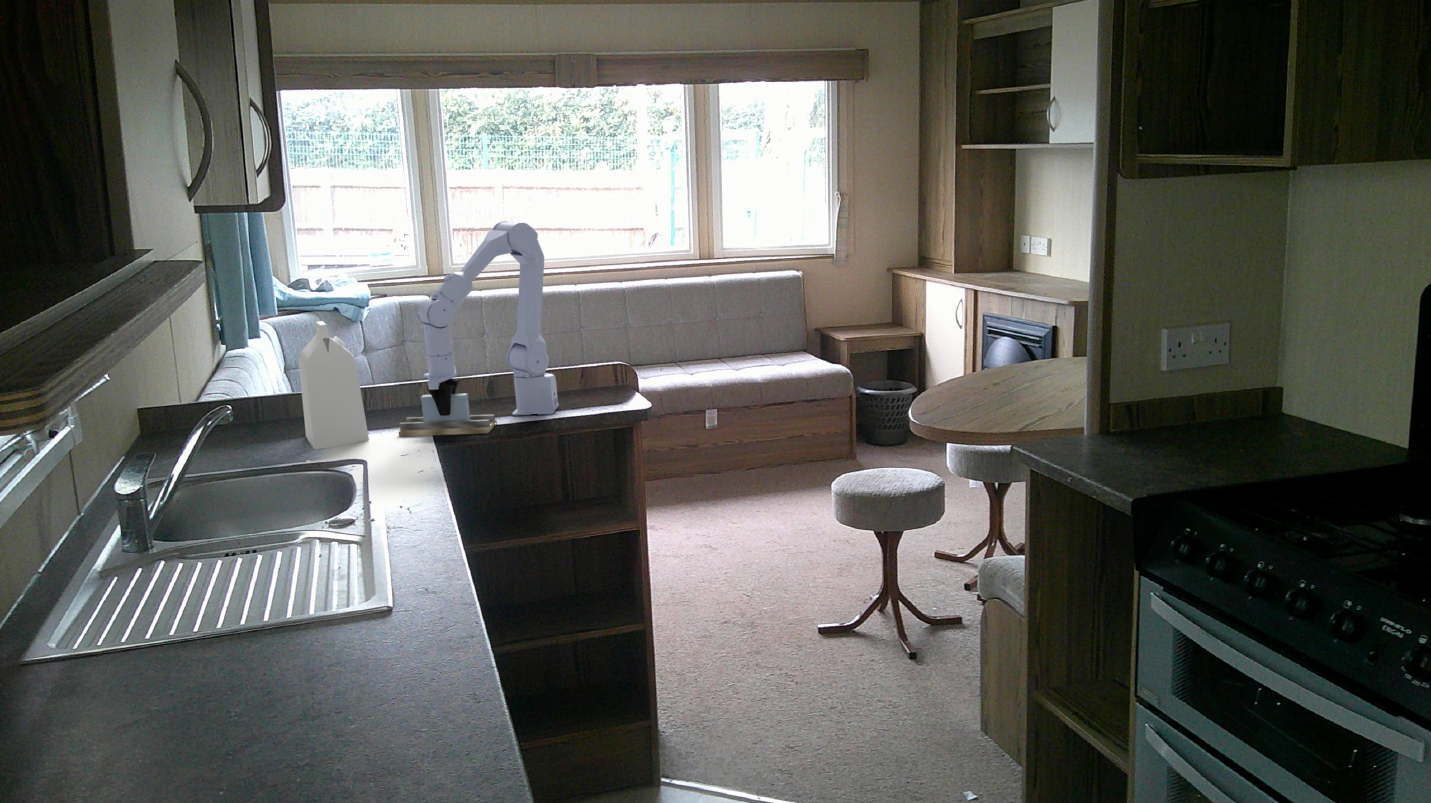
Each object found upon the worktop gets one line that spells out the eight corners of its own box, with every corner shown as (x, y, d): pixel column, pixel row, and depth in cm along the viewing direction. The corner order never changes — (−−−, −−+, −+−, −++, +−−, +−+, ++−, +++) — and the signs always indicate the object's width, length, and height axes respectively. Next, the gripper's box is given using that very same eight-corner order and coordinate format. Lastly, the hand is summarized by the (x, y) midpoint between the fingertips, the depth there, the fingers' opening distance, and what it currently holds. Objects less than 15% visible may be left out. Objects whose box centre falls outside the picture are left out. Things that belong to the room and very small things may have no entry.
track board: (497, 423, 258) (495, 412, 258) (487, 433, 250) (486, 422, 250) (410, 426, 260) (409, 415, 259) (398, 436, 252) (397, 425, 251)
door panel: (470, 423, 255) (467, 393, 254) (468, 425, 253) (465, 395, 252) (427, 425, 256) (423, 394, 254) (424, 427, 254) (420, 397, 252)
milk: (306, 437, 256) (289, 322, 249) (358, 428, 261) (343, 316, 254) (314, 449, 245) (297, 330, 239) (369, 440, 250) (353, 323, 244)
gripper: (432, 348, 258) (438, 406, 261) (411, 361, 244) (418, 422, 247) (462, 346, 258) (468, 405, 261) (443, 360, 244) (450, 421, 247)
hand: (446, 413), depth 254 cm, fingers closed on door panel, 2 cm apart
